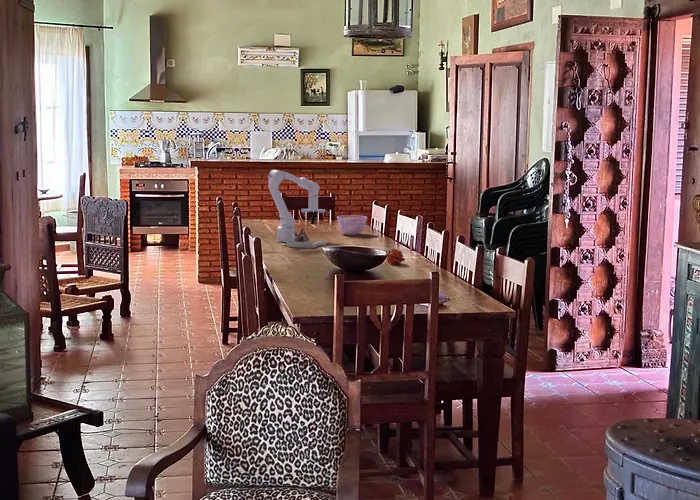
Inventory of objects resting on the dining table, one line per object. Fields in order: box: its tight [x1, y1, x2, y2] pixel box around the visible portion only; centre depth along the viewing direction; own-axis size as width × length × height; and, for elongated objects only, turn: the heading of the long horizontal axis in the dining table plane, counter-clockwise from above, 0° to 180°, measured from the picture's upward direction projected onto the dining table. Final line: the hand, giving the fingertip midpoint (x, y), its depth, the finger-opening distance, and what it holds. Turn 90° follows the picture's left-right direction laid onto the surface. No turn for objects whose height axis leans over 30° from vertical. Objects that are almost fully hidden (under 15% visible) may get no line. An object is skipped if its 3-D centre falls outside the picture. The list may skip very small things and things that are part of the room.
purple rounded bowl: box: [336, 214, 368, 236], centre depth 553 cm, size 20×20×12 cm
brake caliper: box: [293, 227, 311, 242], centre depth 498 cm, size 11×11×12 cm
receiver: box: [285, 239, 328, 249], centre depth 499 cm, size 19×19×4 cm
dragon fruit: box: [386, 248, 406, 266], centre depth 438 cm, size 8×8×12 cm
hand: (313, 224), depth 522 cm, fingers closed
